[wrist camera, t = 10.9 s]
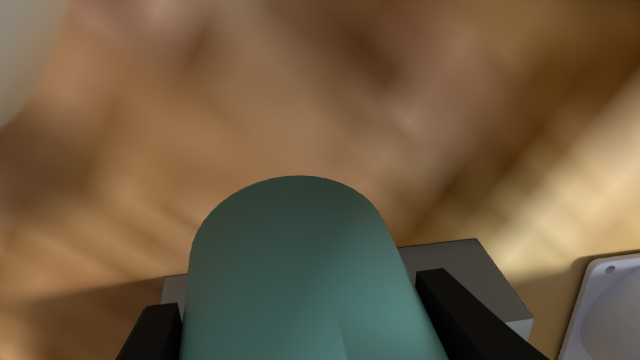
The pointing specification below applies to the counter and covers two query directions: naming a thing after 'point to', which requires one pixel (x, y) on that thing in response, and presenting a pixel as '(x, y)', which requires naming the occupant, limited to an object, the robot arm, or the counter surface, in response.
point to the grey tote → (455, 257)
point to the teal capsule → (301, 280)
